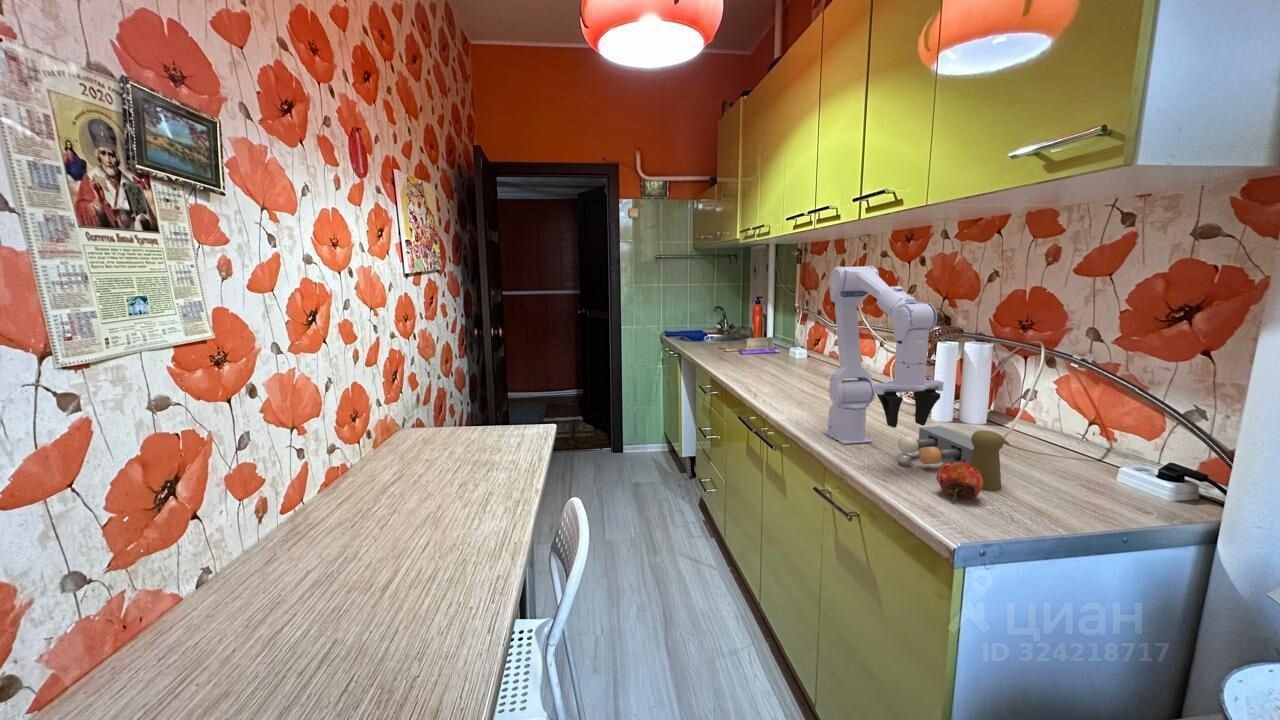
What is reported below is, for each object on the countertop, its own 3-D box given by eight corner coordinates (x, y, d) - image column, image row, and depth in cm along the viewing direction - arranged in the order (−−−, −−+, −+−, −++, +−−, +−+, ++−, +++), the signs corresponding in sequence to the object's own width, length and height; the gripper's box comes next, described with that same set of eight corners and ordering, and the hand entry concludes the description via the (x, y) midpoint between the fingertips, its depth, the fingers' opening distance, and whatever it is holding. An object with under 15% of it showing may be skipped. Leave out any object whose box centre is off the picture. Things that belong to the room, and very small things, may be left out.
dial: (895, 463, 110) (895, 454, 110) (905, 462, 111) (906, 453, 110) (902, 467, 108) (903, 458, 108) (913, 466, 108) (914, 457, 108)
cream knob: (897, 449, 115) (898, 435, 114) (934, 447, 116) (935, 432, 115) (907, 455, 111) (908, 440, 110) (945, 452, 112) (946, 437, 112)
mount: (917, 449, 119) (919, 427, 118) (938, 447, 119) (940, 426, 118) (971, 475, 103) (973, 450, 102) (994, 473, 104) (997, 448, 103)
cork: (1008, 491, 95) (1014, 436, 93) (977, 491, 95) (982, 437, 94) (987, 478, 101) (993, 427, 99) (958, 478, 101) (962, 427, 100)
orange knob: (918, 460, 108) (919, 445, 107) (957, 457, 109) (958, 442, 109) (930, 466, 104) (931, 450, 104) (970, 463, 106) (971, 447, 105)
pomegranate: (979, 520, 89) (995, 476, 93) (967, 495, 86) (985, 451, 90) (935, 509, 95) (953, 468, 99) (922, 486, 92) (941, 445, 96)
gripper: (891, 367, 97) (886, 433, 99) (957, 363, 99) (951, 428, 101) (869, 361, 103) (865, 423, 106) (931, 358, 106) (926, 418, 108)
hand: (906, 425), depth 104 cm, fingers open, 6 cm apart
